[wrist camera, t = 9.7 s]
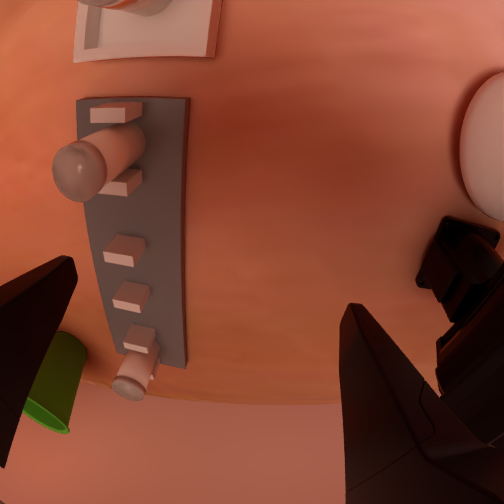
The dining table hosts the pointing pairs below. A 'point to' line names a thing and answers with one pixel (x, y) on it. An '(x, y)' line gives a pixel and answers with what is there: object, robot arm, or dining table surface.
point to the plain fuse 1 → (97, 160)
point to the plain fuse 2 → (135, 373)
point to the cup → (57, 383)
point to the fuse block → (142, 226)
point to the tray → (147, 32)
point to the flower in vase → (485, 148)
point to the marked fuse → (131, 5)
